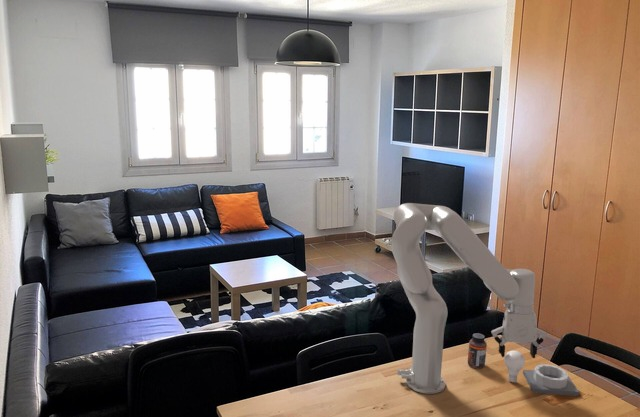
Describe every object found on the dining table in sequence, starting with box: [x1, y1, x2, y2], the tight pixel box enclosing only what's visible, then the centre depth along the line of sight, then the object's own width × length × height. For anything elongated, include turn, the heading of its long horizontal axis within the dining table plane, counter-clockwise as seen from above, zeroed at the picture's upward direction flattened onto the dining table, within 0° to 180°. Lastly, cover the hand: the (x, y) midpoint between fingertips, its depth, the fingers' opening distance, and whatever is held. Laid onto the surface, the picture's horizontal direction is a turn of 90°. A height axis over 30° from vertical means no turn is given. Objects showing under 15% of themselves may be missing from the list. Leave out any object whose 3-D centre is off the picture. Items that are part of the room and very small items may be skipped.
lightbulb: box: [503, 349, 526, 383], centre depth 173 cm, size 6×6×11 cm
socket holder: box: [522, 363, 580, 397], centre depth 173 cm, size 14×12×4 cm
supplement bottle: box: [467, 332, 488, 369], centre depth 184 cm, size 6×6×11 cm
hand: (517, 355), depth 172 cm, fingers open, 9 cm apart
